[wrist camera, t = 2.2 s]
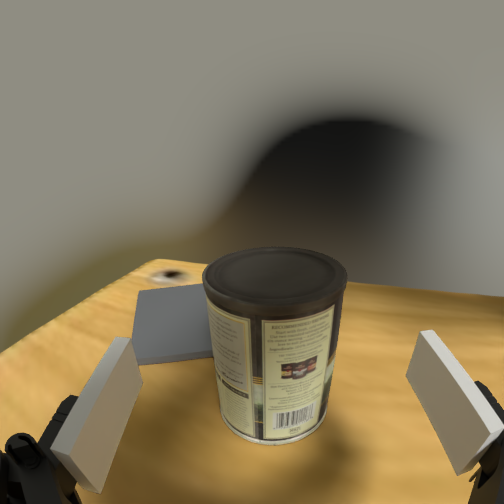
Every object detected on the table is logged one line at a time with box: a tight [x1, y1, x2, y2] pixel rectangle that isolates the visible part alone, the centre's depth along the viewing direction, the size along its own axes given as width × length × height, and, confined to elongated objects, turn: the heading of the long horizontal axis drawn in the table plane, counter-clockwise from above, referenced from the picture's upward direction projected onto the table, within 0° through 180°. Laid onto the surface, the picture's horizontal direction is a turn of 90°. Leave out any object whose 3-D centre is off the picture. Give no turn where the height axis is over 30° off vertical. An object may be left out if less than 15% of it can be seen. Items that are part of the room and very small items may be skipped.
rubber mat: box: [131, 284, 213, 365], centre depth 42 cm, size 18×18×1 cm
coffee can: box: [202, 247, 347, 445], centre depth 24 cm, size 10×10×14 cm
